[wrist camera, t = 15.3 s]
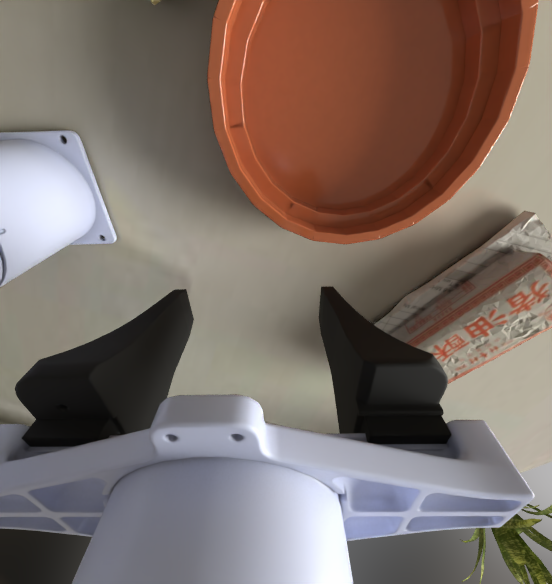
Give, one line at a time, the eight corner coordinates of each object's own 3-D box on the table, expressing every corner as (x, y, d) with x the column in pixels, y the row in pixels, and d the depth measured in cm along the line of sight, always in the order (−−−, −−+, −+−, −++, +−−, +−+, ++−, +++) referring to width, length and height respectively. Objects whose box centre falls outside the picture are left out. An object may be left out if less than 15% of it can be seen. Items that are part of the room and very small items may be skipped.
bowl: (235, 229, 22) (229, 247, 19) (197, -101, 13) (174, -163, 10) (439, 224, 22) (464, 241, 19) (545, -119, 13) (625, -189, 10)
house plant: (539, 429, 38) (688, 609, 24) (455, 470, 44) (535, 629, 30) (472, 395, 34) (606, 587, 20) (391, 445, 40) (450, 616, 26)
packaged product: (422, 417, 28) (358, 375, 24) (404, 379, 32) (347, 338, 29) (632, 311, 20) (583, 227, 17) (573, 278, 24) (524, 206, 21)
